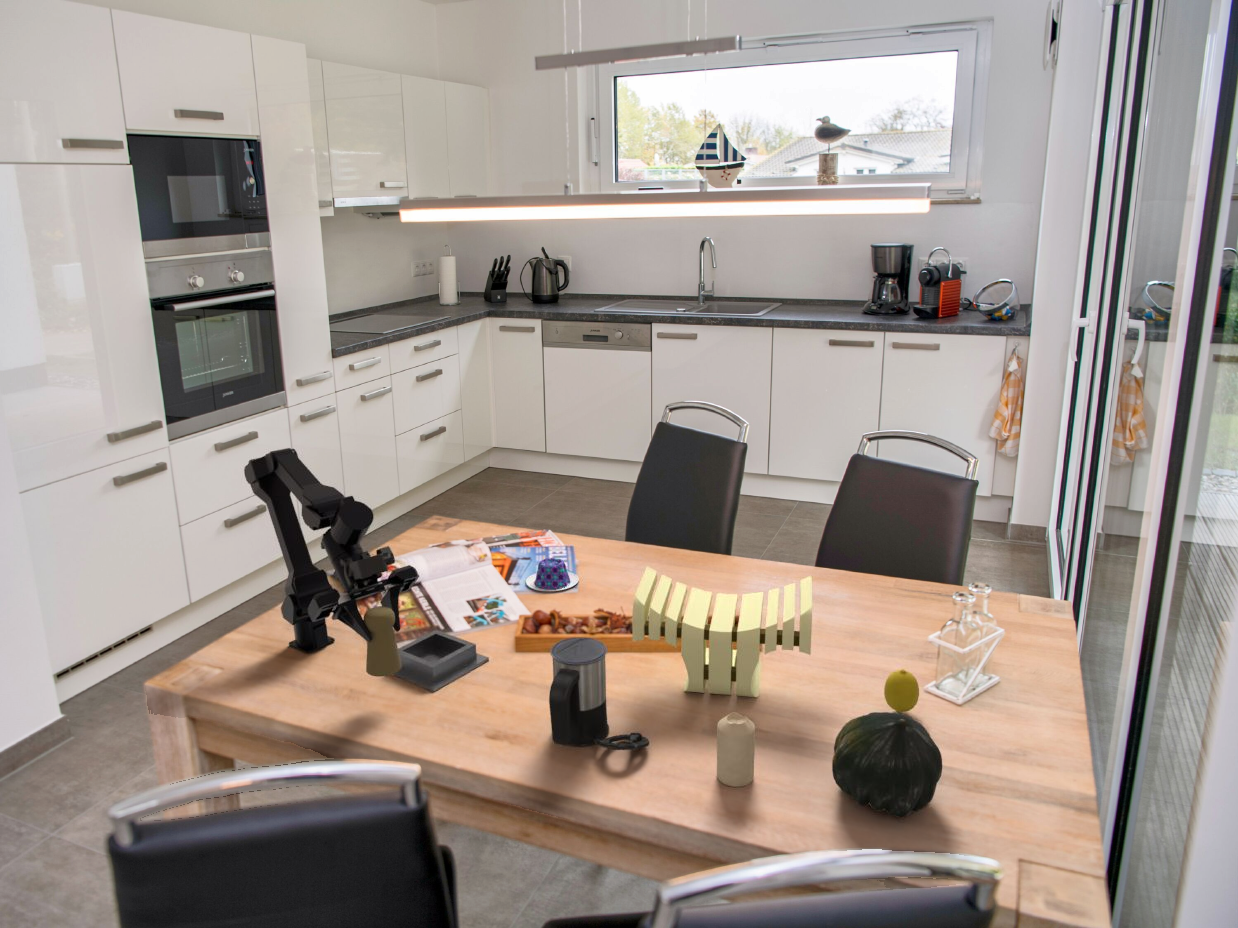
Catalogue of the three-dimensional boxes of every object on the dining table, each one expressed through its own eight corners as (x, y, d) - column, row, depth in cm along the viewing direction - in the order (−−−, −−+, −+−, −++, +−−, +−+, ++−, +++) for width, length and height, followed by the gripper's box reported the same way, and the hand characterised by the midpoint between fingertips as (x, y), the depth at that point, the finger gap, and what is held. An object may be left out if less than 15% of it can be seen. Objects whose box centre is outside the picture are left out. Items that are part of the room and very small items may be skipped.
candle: (713, 766, 139) (714, 708, 136) (749, 763, 139) (750, 706, 136) (720, 788, 134) (721, 728, 131) (757, 786, 134) (759, 726, 131)
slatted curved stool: (633, 694, 159) (632, 601, 154) (648, 652, 174) (647, 565, 169) (808, 709, 154) (812, 613, 149) (807, 664, 169) (811, 575, 164)
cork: (392, 677, 153) (387, 618, 150) (359, 674, 155) (353, 615, 151) (407, 660, 159) (402, 603, 156) (375, 657, 160) (370, 600, 157)
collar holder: (382, 669, 170) (380, 652, 169) (438, 640, 180) (436, 624, 179) (433, 691, 162) (432, 673, 161) (488, 660, 172) (487, 643, 171)
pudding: (554, 598, 199) (554, 576, 198) (515, 586, 206) (513, 564, 205) (589, 580, 209) (588, 559, 207) (550, 569, 216) (549, 548, 214)
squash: (837, 719, 141) (839, 687, 128) (939, 737, 137) (951, 705, 124) (827, 813, 134) (828, 789, 121) (933, 835, 130) (946, 812, 117)
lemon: (899, 725, 149) (902, 681, 146) (875, 709, 153) (878, 666, 151) (924, 716, 151) (928, 673, 149) (900, 700, 156) (903, 658, 154)
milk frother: (556, 715, 154) (552, 635, 149) (649, 715, 153) (648, 635, 149) (546, 765, 140) (542, 679, 136) (649, 766, 139) (648, 679, 135)
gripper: (307, 549, 147) (345, 634, 142) (409, 521, 159) (448, 598, 154) (292, 580, 155) (328, 661, 150) (390, 551, 167) (426, 625, 162)
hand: (384, 635), depth 154 cm, fingers closed on cork, 5 cm apart
